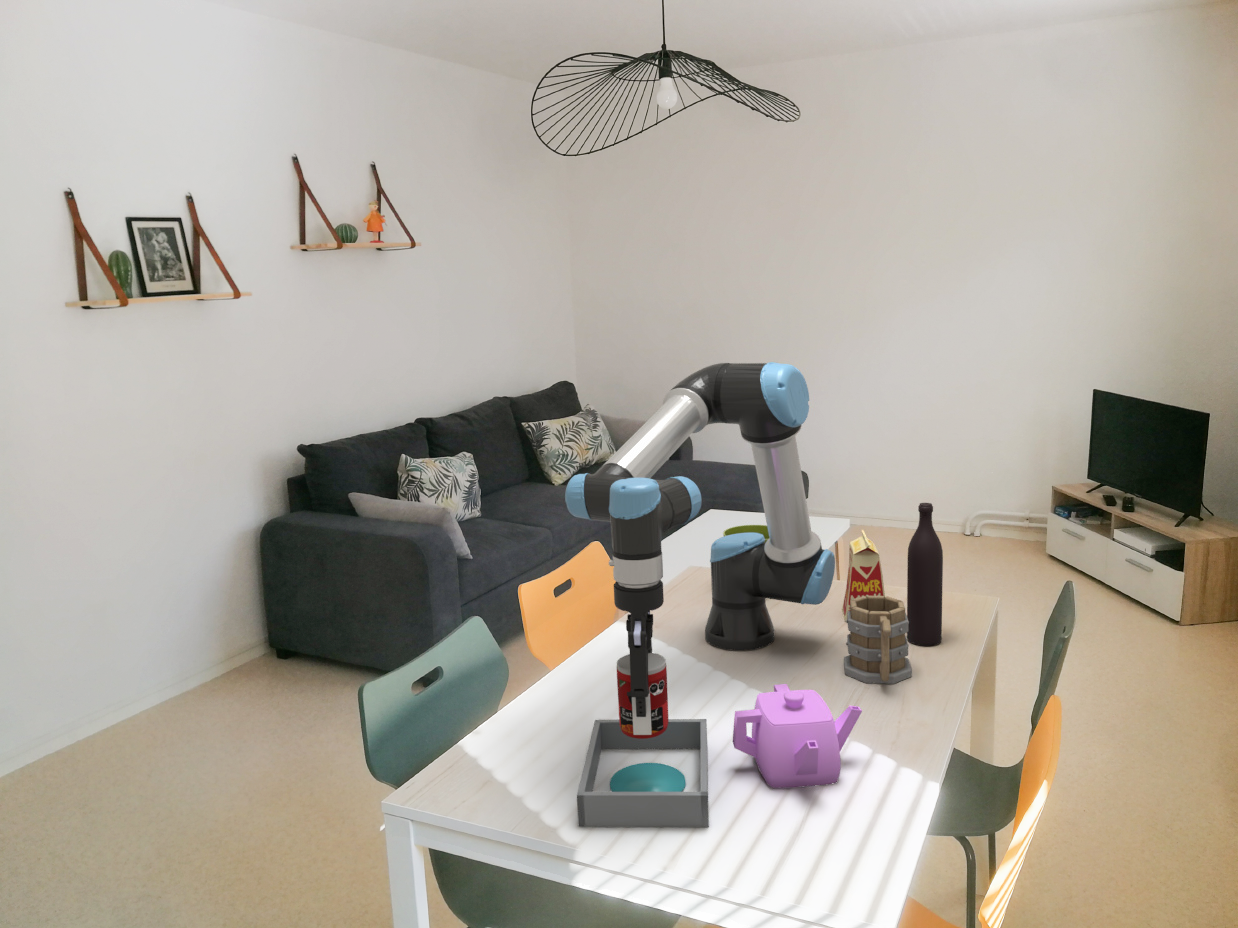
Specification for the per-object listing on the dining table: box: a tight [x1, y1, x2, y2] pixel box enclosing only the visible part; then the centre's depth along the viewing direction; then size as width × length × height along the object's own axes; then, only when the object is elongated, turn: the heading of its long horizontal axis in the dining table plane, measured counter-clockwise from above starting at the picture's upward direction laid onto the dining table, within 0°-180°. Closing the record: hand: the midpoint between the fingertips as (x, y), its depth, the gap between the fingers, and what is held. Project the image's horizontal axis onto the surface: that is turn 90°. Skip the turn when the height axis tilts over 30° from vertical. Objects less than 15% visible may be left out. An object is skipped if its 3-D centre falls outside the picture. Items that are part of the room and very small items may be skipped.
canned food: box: [616, 652, 669, 739], centre depth 144 cm, size 8×8×11 cm
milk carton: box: [841, 529, 886, 623], centre depth 213 cm, size 9×9×20 cm
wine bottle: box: [906, 502, 944, 647], centre depth 196 cm, size 7×7×30 cm
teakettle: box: [732, 683, 863, 789], centre depth 149 cm, size 17×17×12 cm
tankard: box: [843, 595, 913, 685], centre depth 180 cm, size 20×13×15 cm, turn 169°
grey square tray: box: [576, 718, 710, 828], centre depth 147 cm, size 24×19×5 cm
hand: (644, 720), depth 145 cm, fingers closed on canned food, 8 cm apart
